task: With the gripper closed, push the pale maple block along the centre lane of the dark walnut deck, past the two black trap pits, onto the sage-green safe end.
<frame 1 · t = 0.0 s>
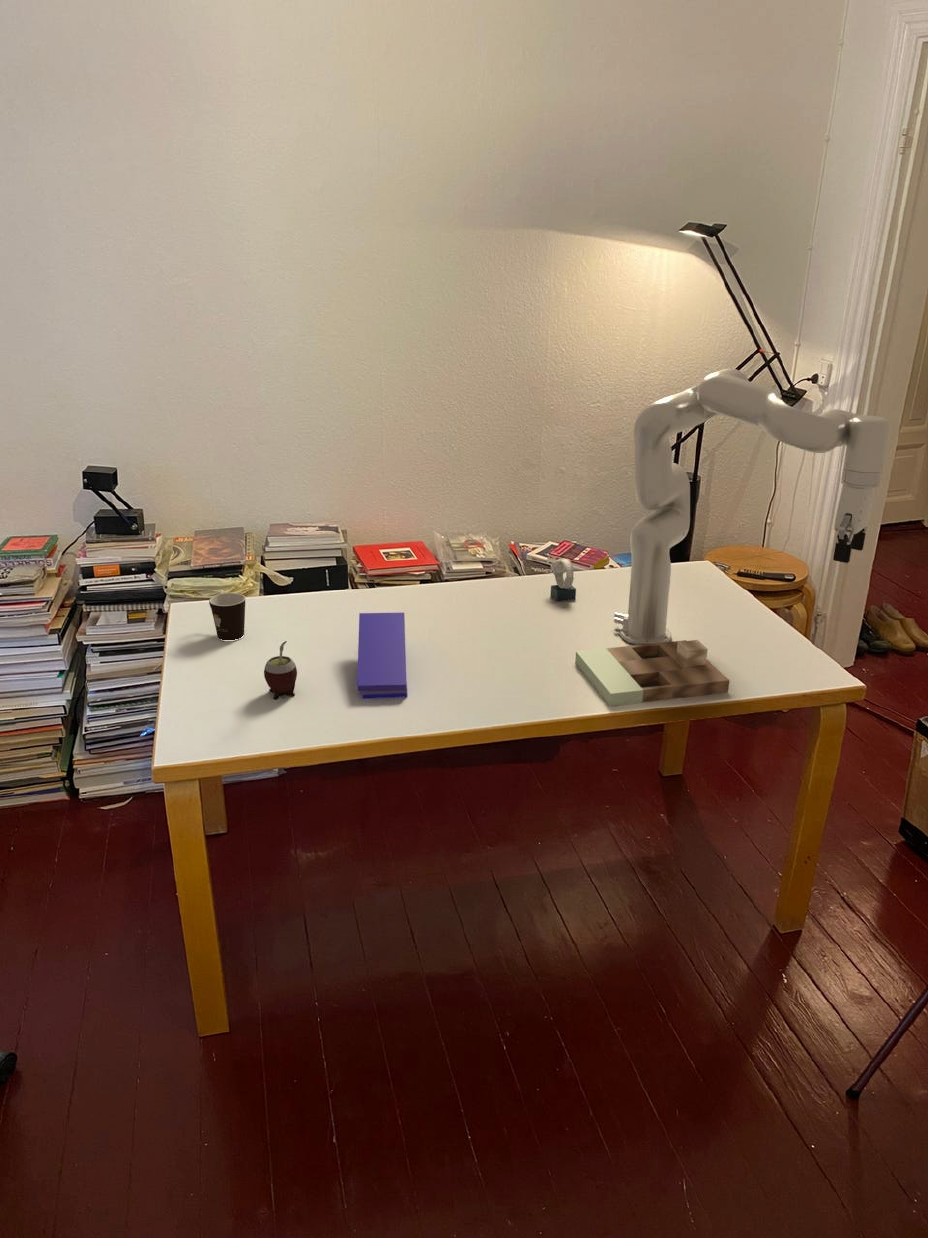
hand: (848, 555, 213), 31 cm above the table, tool pointing down, fingers open, 9 cm apart
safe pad: (607, 681, 226), on the table
layered purple block: (382, 673, 231), on the table
mate gourd: (283, 695, 220), on the table
coffee mug: (230, 634, 249), on the table
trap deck: (649, 677, 229), on the table
maple block: (690, 661, 230), point 3 cm above the table, touching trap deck
white knot sculpture: (562, 598, 273), on the table
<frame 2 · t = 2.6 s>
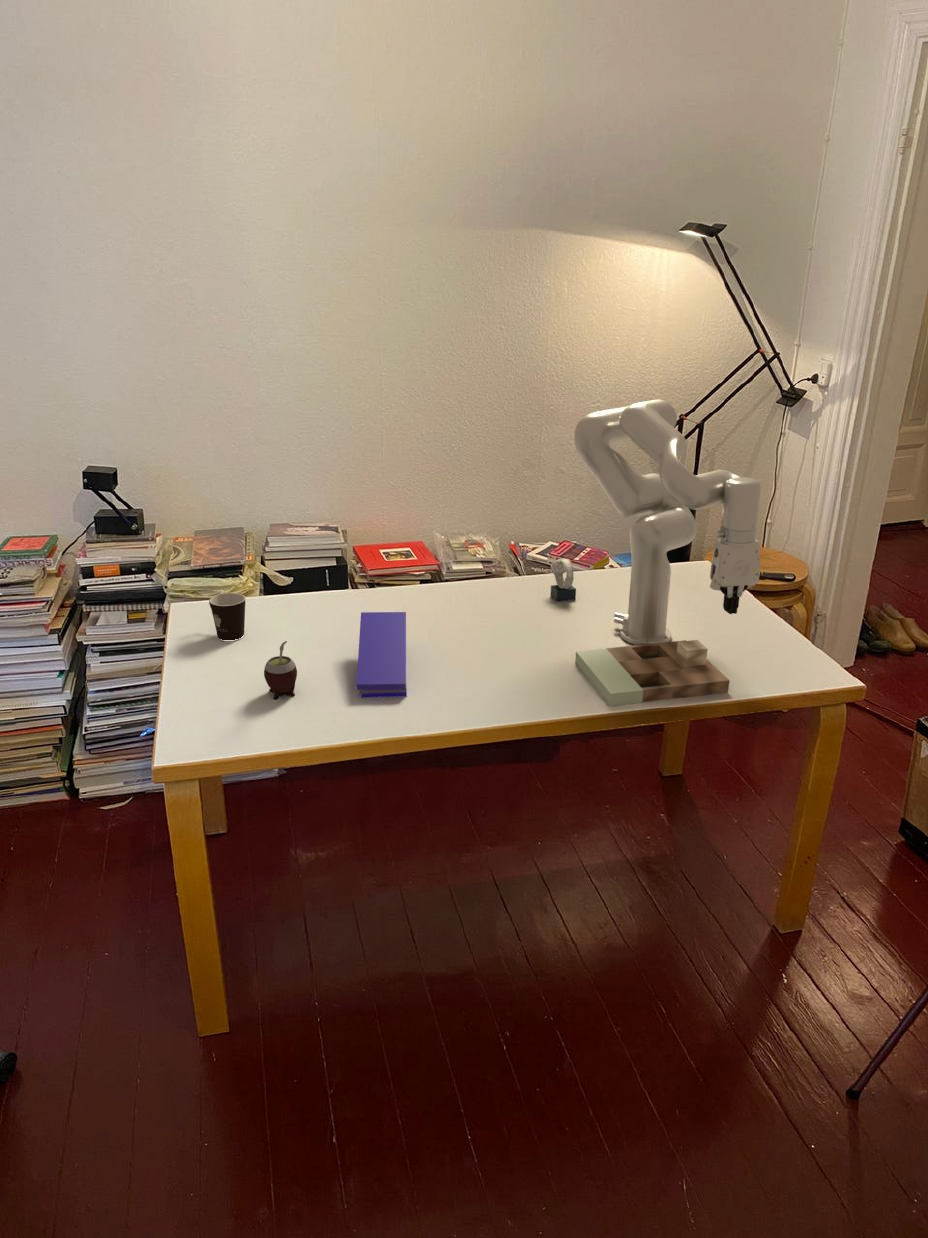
hand: (730, 611, 226), 15 cm above the table, tool pointing down, fingers closed
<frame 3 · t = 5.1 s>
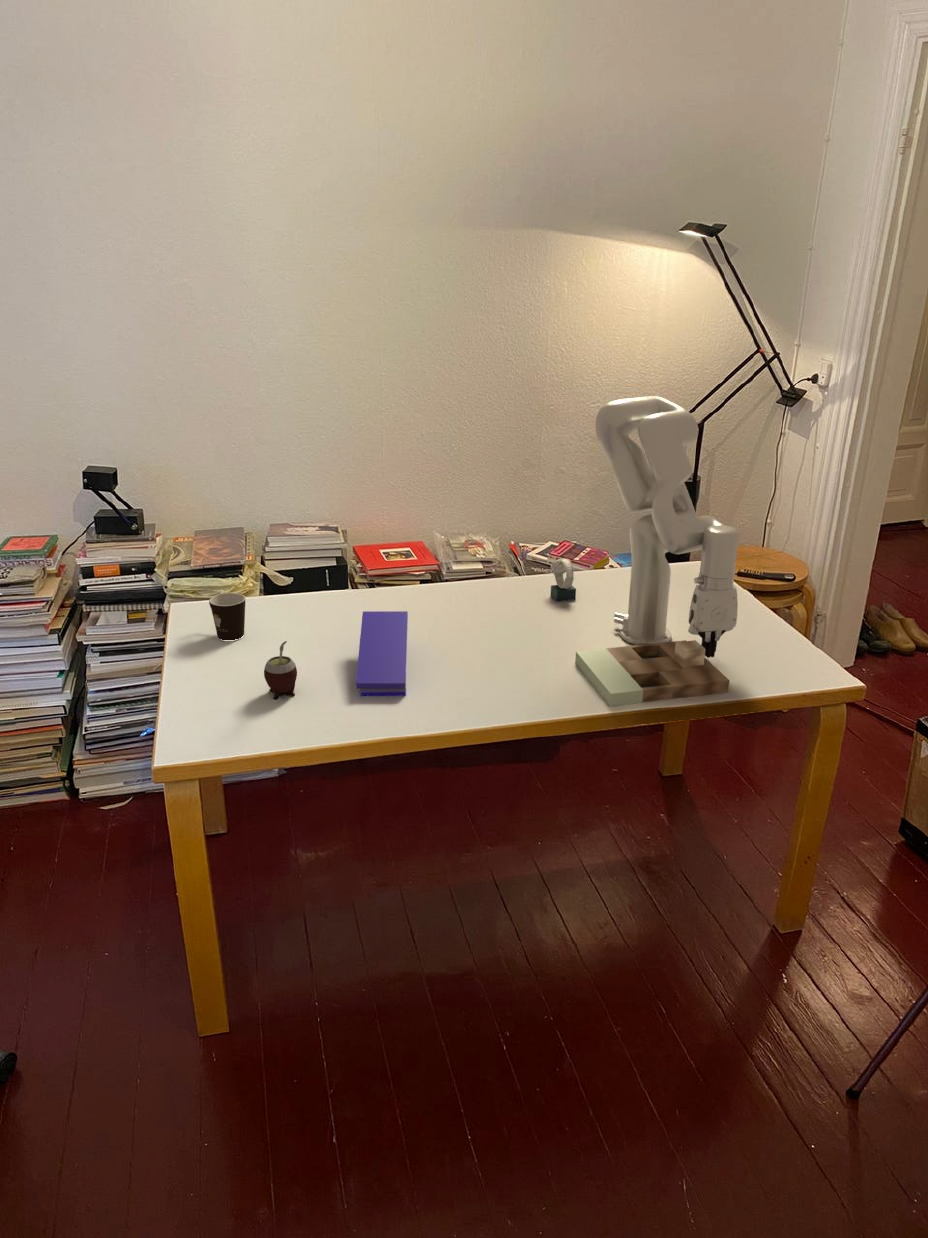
hand: (707, 654, 230), 4 cm above the table, tool pointing down, fingers closed
maple block: (688, 661, 229), point 3 cm above the table, touching gripper
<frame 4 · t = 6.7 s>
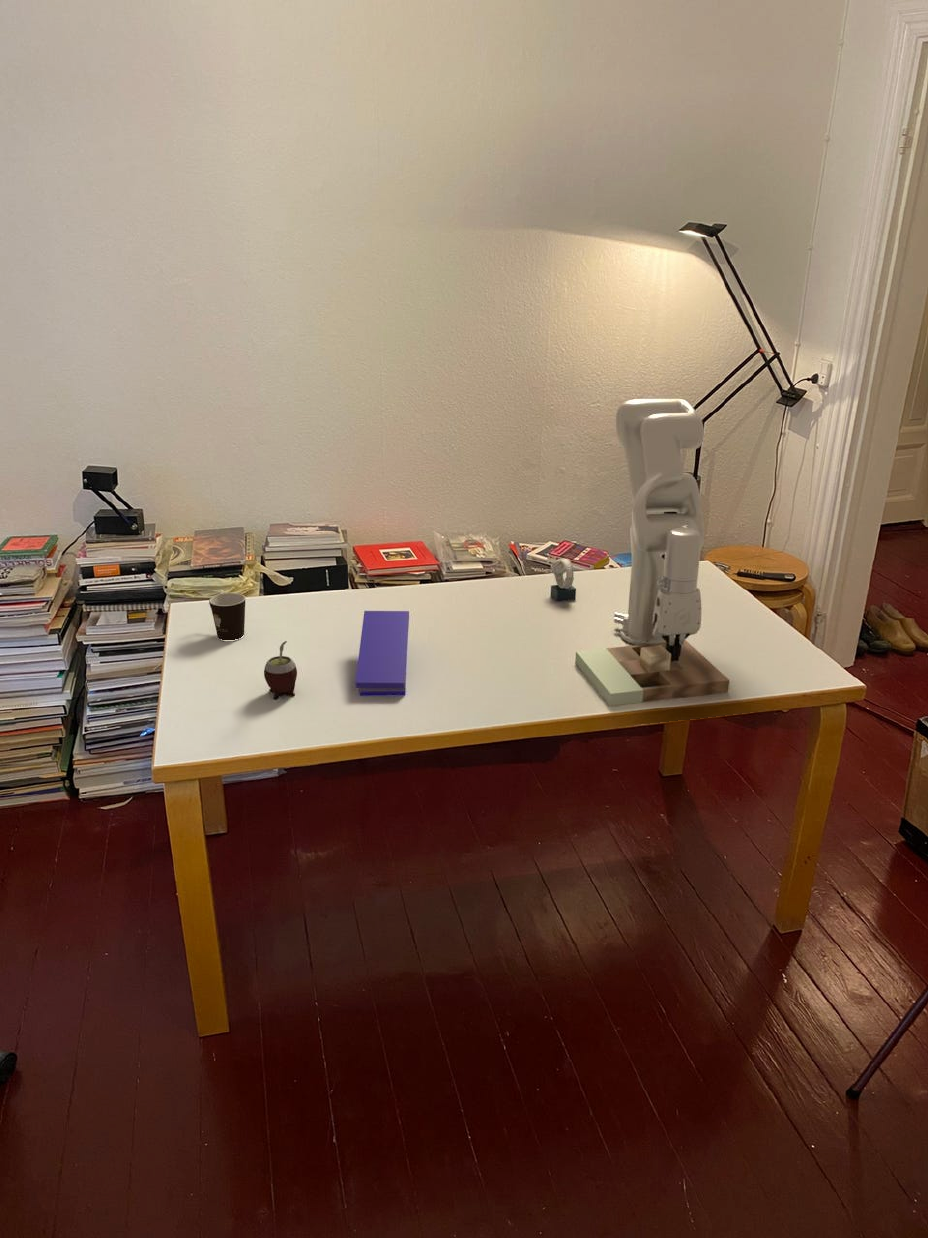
hand: (672, 658, 228), 4 cm above the table, tool pointing down, fingers closed
maple block: (654, 666, 227), point 3 cm above the table, touching gripper, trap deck
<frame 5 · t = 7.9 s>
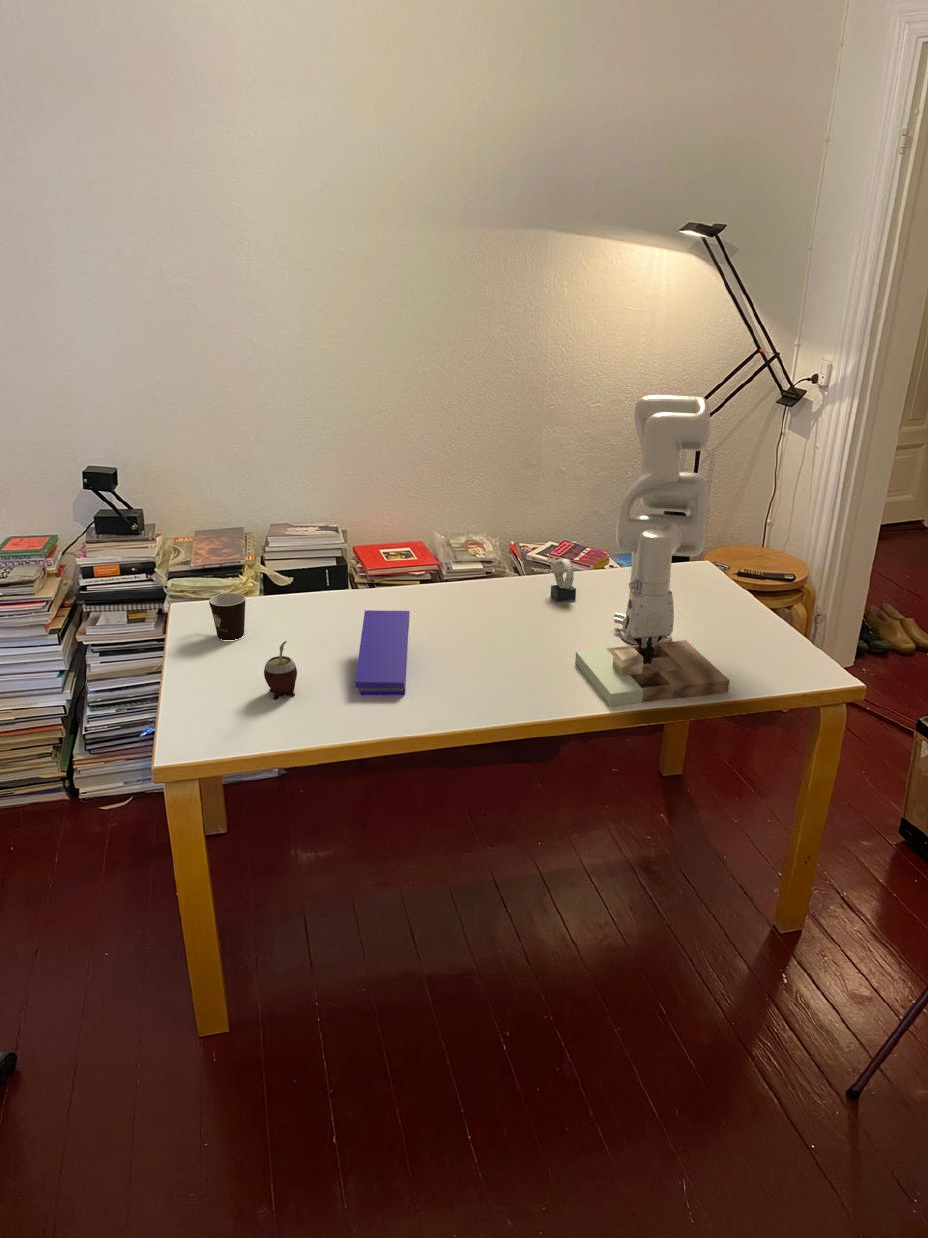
hand: (645, 661, 226), 4 cm above the table, tool pointing down, fingers closed
maple block: (627, 670, 225), point 3 cm above the table, touching gripper, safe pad
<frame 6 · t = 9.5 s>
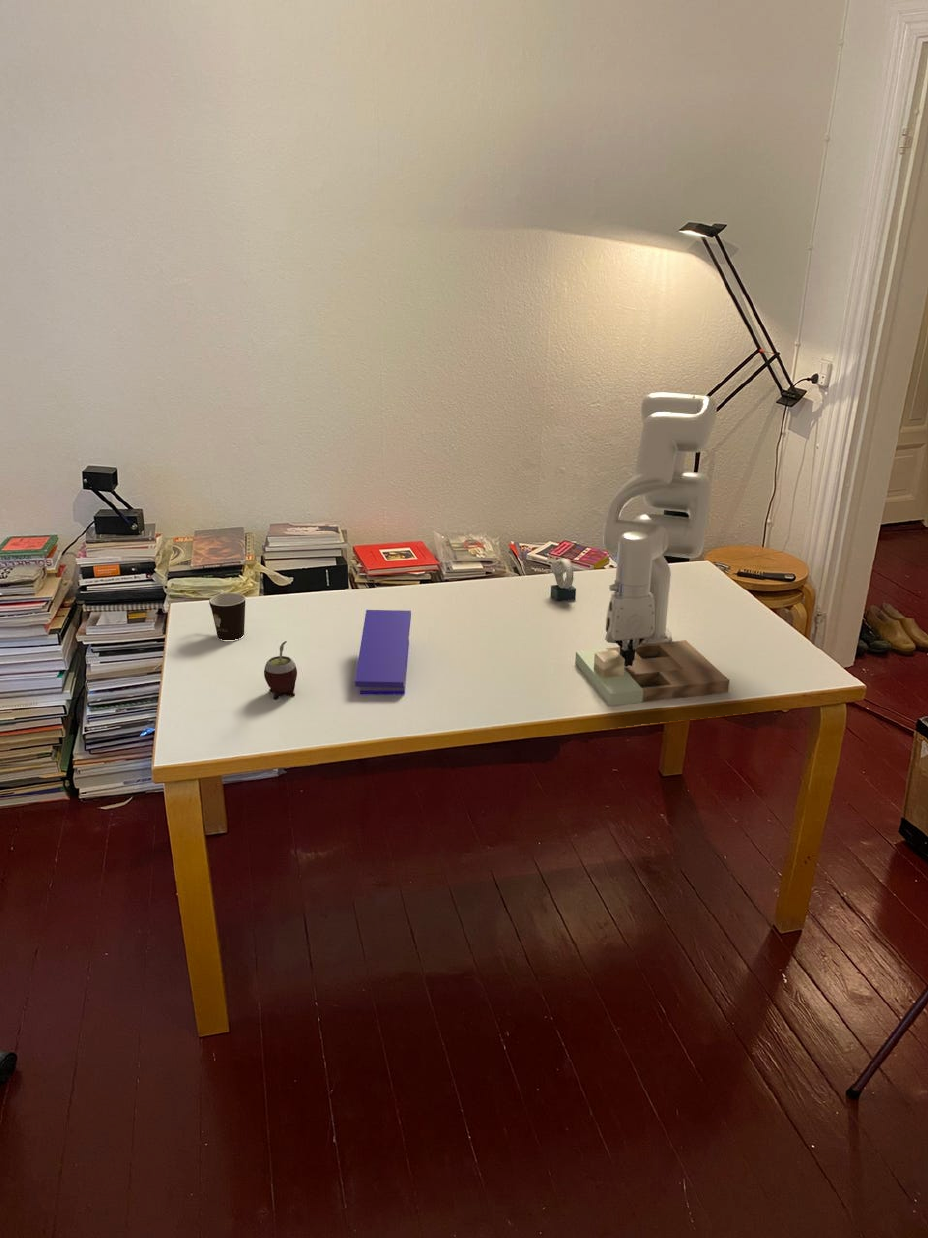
hand: (626, 663, 226), 4 cm above the table, tool pointing down, fingers closed
maple block: (608, 672, 224), point 3 cm above the table, touching gripper, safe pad
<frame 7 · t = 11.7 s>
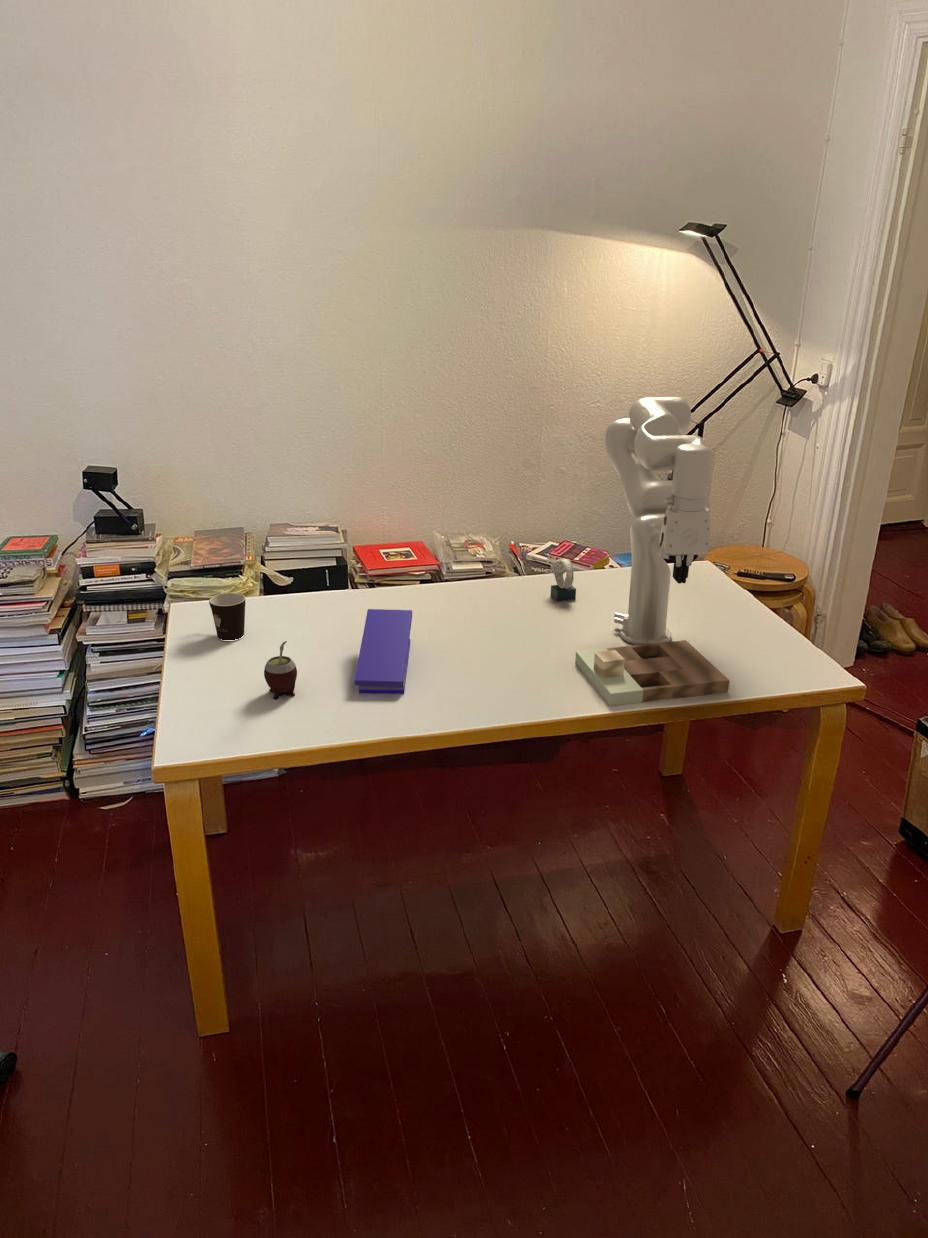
hand: (679, 580, 222), 23 cm above the table, tool pointing down, fingers closed
maple block: (608, 672, 224), point 3 cm above the table, touching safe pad
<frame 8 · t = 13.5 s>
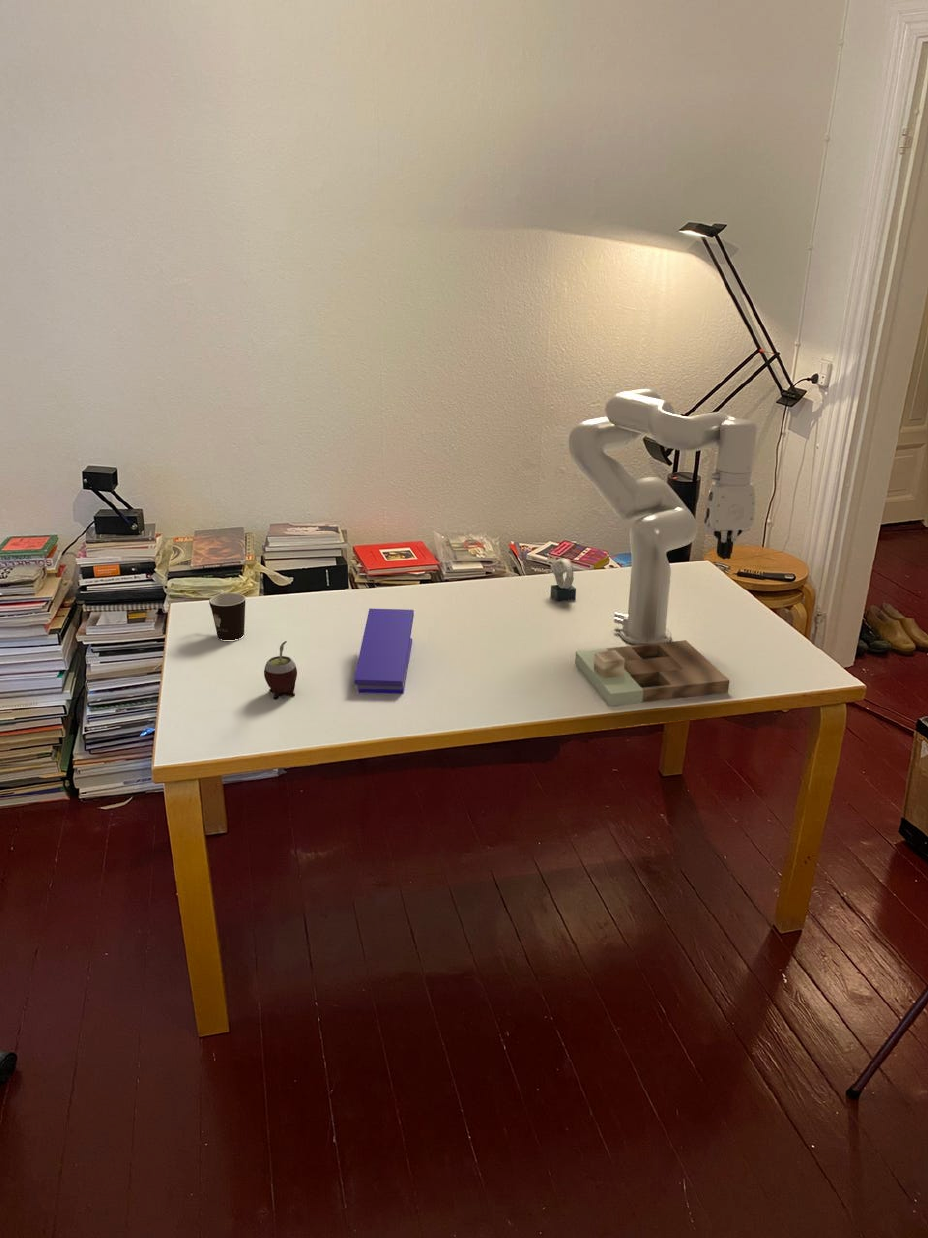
hand: (723, 557, 223), 27 cm above the table, tool pointing down, fingers closed
at the end: maple block 1.1 cm from the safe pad (horizontally); maple block point 3.0 cm above the table; maple block tilted 0° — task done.
